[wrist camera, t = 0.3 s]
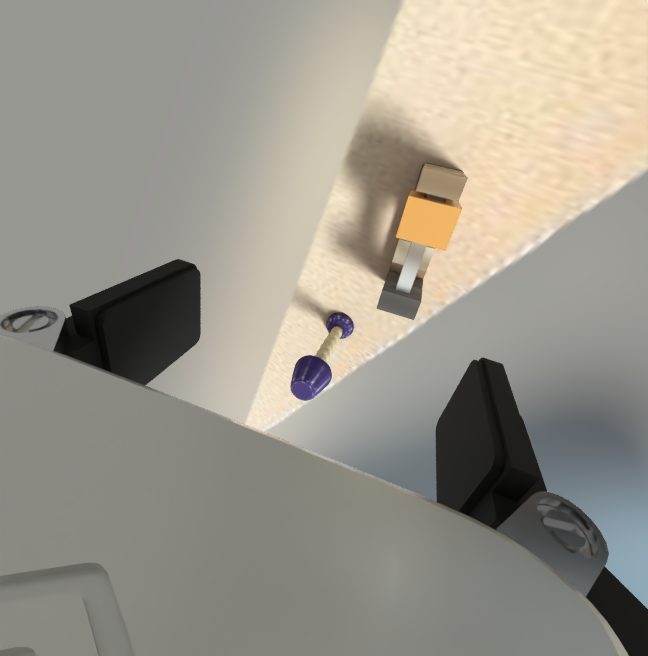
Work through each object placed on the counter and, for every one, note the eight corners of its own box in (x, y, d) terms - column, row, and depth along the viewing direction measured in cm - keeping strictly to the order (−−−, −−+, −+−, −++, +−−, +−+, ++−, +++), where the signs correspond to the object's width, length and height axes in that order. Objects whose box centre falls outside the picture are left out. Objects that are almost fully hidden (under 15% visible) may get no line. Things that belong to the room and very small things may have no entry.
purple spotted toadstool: (319, 323, 51) (276, 391, 37) (335, 303, 48) (295, 367, 34) (343, 341, 51) (310, 415, 37) (361, 322, 49) (331, 394, 35)
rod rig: (423, 162, 36) (421, 167, 29) (462, 171, 36) (469, 178, 29) (385, 282, 44) (376, 308, 37) (417, 291, 44) (413, 319, 37)
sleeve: (411, 189, 34) (408, 195, 30) (458, 200, 34) (461, 209, 30) (400, 226, 37) (395, 237, 32) (443, 238, 36) (445, 250, 32)
